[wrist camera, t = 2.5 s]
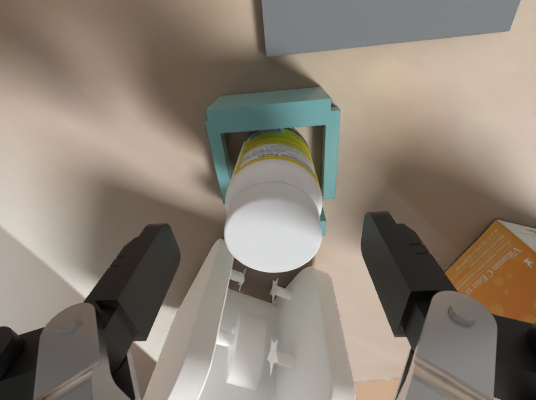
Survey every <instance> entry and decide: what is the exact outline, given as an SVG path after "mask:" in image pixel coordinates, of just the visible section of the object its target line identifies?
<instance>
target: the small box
mask: <svg viewBox="0 0 536 400" xmlns="http://www.w3.org/2000/svg"><path fill="white" fill-rule="evenodd" d="M445 274H446V276H447V277H448V278H449V280H450V281H451V283H452V284H453V285H454V287H455V288H456V290H457V291H458V292H459V293H462V294H465V295H468V296H470V297H472V298H474V299H475V300H477V301H478V302H480V303H481V304H482V305H484V306H485V307H486V308H487V309H488V310H489V311H490V313H492V314H495V315H498V316H502V317H507V318H511V319H515V320H519V321H524V322H528V323H532V324H534V323H535V322H536V229H535V228H531V227H527V226H523V225H519V224H514V223H510V222H506V221H502V220H495V221H494V222H493V223H492V224H491V225H490V227H489V228H488V229H487V230H486V231H485V232H484V233H483V234H482V235H481V236H480V238H479V239H478V240H476V241H475V242H474V244H473V245H472V246H471V247H470V248H469V249H468V250H467V251H466V252H465V253H464V254H463V255H462V256H461V257H460V258H459V259H458V260H457V261H456V262H455V263H454V264H453V265H452V266H451V267H450V268H449V269H448V270H447V271H446V272H445Z"/></svg>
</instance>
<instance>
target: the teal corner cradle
mask: <svg viewBox="0 0 536 400" xmlns="http://www.w3.org/2000/svg"><path fill="white" fill-rule="evenodd" d="M340 111H341V110H340V109H339V108H338V107H337V106H336V107H331V98H330V96H329V95H328V94H327V93H326V92H325V91H324V89H323V88H322V87H321V86H320V87H310V88H299V89H288V90H278V91H267V92H257V93H246V94H235V95H225V96H220V97H219V98H218V99H216V100H215V101H214V102H213V103H212V104H211V105H210V106H209V107H208V108H207V109H206V114H207V120H206V121H205V126H206V130H207V135H208V139H209V143H210V147H211V152H212V156H213V160H214V165H215V169H216V173H217V178H218V182H219V186H220V191H221V195H222V199H223V203H224V204H225V196H226V191H227V188H228V185H229V183H230V180H231V177H232V171H231V166H230V160H229V155H228V150H227V145H226V140H225V135H224V133H231V132H243V131H256V130H268V129H280V128H293V127H305V126H318V125H323V152H322V186H321V192H322V196H323V199H332V198H335V188H336V173H337V157H338V142H339V126H340ZM320 225H321V230H322V236H325V231H326V219H325V215H324V211H323V207H322V210H321V214H320Z"/></svg>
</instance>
